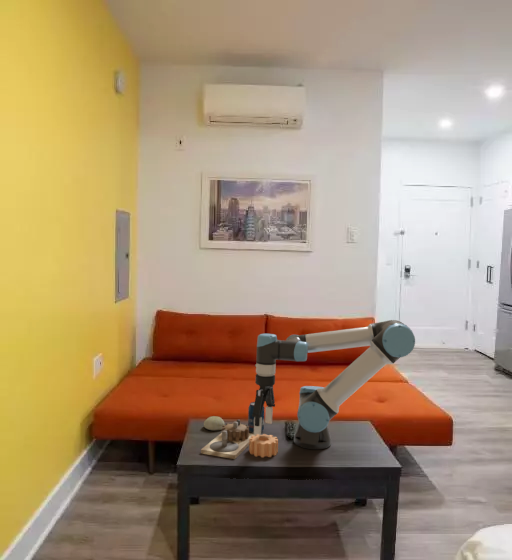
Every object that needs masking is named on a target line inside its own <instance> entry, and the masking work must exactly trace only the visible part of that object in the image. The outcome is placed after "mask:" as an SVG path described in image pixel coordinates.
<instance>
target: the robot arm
mask: <svg viewBox="0 0 512 560" xmlns="http://www.w3.org/2000/svg"><path fill="white" fill-rule="evenodd" d="M360 347H362V348H363V347H368V348H367V349H366V350H365V351H364V352H363V353H361V354H360V356H358V357H357V358H356V359H355V360H354V361H352V363H350V364H348V366H347V367H346V368H344V370H343V371H341V372H340V373H339V374H337V376H336V377H334V379H332V380H331V382H329V383H328V384H327V385H326V386H324V387H323V386H313V385H304V386H301V387H300V388H299V393H298V394H299V400H298V408H297V414H296V415H297V420H298V424H297V426H296V430H295V432H294V435H293V443H294V444H295V445H296V446H298V447H300V448H303V449H307V450H322V449H323V450H324V449H328V448H329V447H330V446H331V445H332V437H331V433H330V430H329V427H328V426H329V423H330V421H331V420H332V419H333V418H334V417H335V416H336V415H337V414H338V413H339V410H340V406H341V405H343V403H344V402H346V400H348V399H349V398H350V397H351V396H352V395H354V393H355V392H357V391H358V390H359V389H360V388H361V387H362V386H363V385H365V384H366V383H367V382H368V381H369V380H370V379H372V378H373V377H374V376H375V375H376V374H377V373H378V372H380V370H381V369H383V368H384V367H385V366H386V365H394V364H395V363H396V362H397V361H398V360H399V359H401V358H404V357H407V356H408V355H410V354H411V353H412V351H413V350H414V348H415V347H416V337H415V334H414V332H413V330H412V329H411V328H410V327H409V326H408V325H407V324H404V323H403V322H402V321H400V320H396V319H390V320H385V321H378V322H375V323H369V324H368V325H367V326H365V327H363V326H362V327H354V328H346V329H338V330H329V331H322V332H315V333H308V334H300V335H299V334H291V335H289V336H288V337H287V338H286V339H285V340H284V339H283V340H281V339H278V337H277V334H274V333H260V334H258V335H257V342H256V362H255V363H256V364H255V365H254V366H255V367H256V368H255V373H256V374H255V384H256V385H258V387H259V388H258V389H256V391H255V400H254V402H255V404H254V409H253V414H252V417H254V433H253V434H259V435H262V432H261V427H262V417H261V414H262V410H263V406H264V407H265V412H264V424H270V425H272V424H273V414H274V413H273V412H274V411H273V410H274V409H273V407H274V408H275V407H276V403H275V394H274V385H275V383H276V368H277V367H276V365H277V361H276V360H278V361H291V362H306V361H307V359H308V353H317V352H326V351H335V350H343V349H353V348H360ZM265 404H266V406H265Z"/></svg>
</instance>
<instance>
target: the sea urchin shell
mask: <svg viewBox="0 0 512 560" xmlns="http://www.w3.org/2000/svg"><path fill="white" fill-rule="evenodd" d="M223 425H226V422H225V421H224V419H222V417H220V416H215V415H213V416H209V417H207V419H205V420H204V422H203V427H204V428H205V429H207V430H209V431H213V432H214V431H222V427H223Z"/></svg>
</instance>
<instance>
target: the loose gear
mask: <svg viewBox="0 0 512 560" xmlns="http://www.w3.org/2000/svg"><path fill="white" fill-rule="evenodd" d="M248 449H249V450H248V452H249V454H250V455H253V456H254V457H260V458H265V457H268V458H272V456H277V454H279V453H278V452H279V438H278V437H277V436H274V435H273V434H269V435H268V434H266V433H263V434H261V435H259V434H256V436H251V438H250V439H249V446H248Z"/></svg>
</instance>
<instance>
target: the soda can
mask: <svg viewBox="0 0 512 560" xmlns="http://www.w3.org/2000/svg"><path fill="white" fill-rule="evenodd" d="M254 404H255V401H251V402H250V403H249V405H248V413H247V414H248V415H247V426H249V433H251V434H254V417H252V414H253V409H254ZM261 417H262V427H261V433H263V431H264V428H265V405H264V406H263V410H262V414H261Z"/></svg>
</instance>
